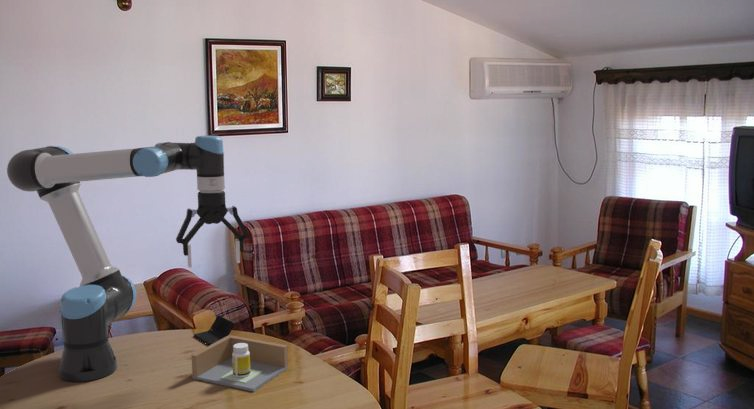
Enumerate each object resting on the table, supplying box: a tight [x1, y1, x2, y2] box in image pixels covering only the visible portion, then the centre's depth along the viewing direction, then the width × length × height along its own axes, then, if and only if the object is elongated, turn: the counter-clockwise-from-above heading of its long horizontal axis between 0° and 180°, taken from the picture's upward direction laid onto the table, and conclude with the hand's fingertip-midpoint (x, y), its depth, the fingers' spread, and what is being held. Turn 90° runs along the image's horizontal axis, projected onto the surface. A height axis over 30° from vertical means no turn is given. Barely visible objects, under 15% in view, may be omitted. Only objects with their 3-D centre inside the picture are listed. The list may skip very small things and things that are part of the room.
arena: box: [191, 334, 289, 393], centre depth 194 cm, size 20×17×7 cm
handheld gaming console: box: [193, 314, 235, 346], centre depth 222 cm, size 12×7×10 cm
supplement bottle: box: [232, 343, 251, 378], centre depth 191 cm, size 5×5×8 cm
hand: (214, 264), depth 200 cm, fingers open, 13 cm apart
